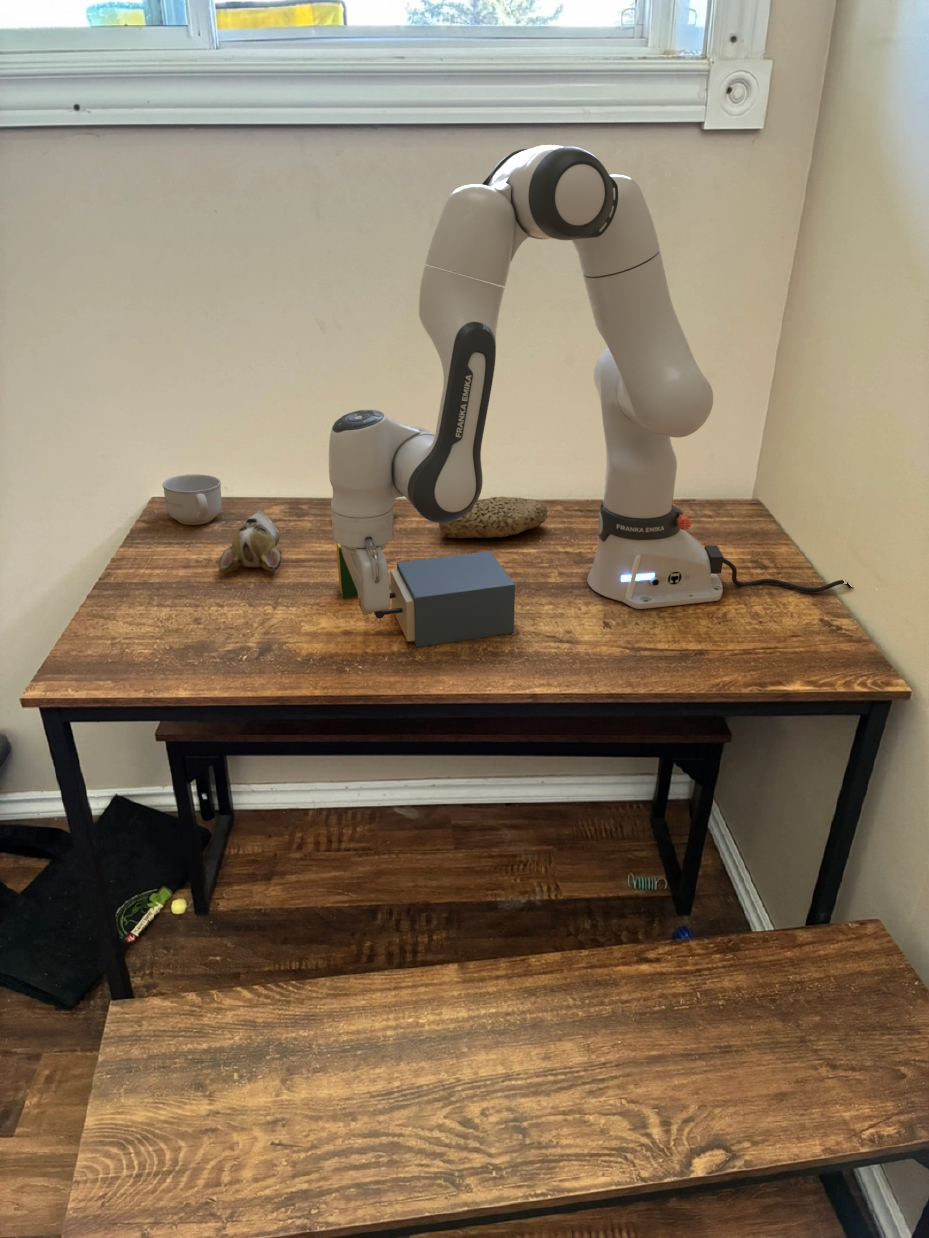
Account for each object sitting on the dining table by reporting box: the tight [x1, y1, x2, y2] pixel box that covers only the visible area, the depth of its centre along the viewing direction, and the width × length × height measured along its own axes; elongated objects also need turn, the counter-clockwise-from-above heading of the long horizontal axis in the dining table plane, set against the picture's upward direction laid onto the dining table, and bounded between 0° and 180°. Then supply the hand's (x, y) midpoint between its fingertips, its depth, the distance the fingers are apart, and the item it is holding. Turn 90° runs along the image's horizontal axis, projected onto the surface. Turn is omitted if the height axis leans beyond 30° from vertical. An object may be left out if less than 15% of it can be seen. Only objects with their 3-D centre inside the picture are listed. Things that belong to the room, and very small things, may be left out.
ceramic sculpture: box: [218, 509, 282, 573], centre depth 155 cm, size 11×9×15 cm
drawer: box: [373, 568, 415, 642], centre depth 136 cm, size 19×11×7 cm, turn 106°
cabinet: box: [396, 550, 516, 648], centre depth 137 cm, size 15×12×8 cm
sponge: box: [438, 496, 549, 539], centre depth 167 cm, size 13×8×20 cm
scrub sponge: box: [335, 541, 358, 599], centre depth 145 cm, size 4×3×9 cm
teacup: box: [162, 473, 222, 526], centre depth 171 cm, size 14×11×8 cm
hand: (366, 610), depth 133 cm, fingers closed, pressing on drawer
